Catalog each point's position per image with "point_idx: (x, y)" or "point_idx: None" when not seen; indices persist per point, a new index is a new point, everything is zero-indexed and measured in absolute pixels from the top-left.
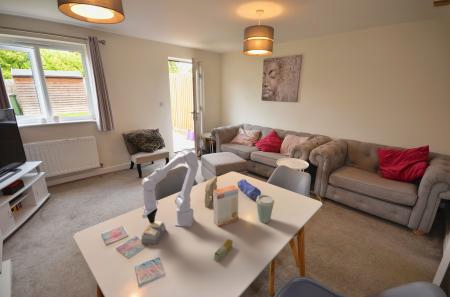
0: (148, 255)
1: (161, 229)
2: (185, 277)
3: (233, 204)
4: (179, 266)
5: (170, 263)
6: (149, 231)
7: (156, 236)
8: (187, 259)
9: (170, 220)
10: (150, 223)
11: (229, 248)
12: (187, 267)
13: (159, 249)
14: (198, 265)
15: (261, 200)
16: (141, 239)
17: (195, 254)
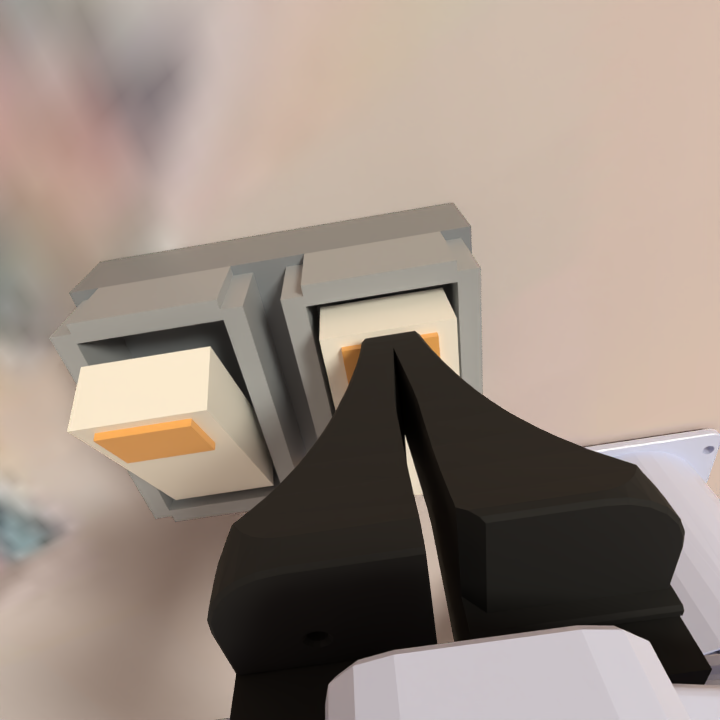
0: (8, 447)
1: None
2: (34, 695)
3: None
4: (80, 654)
5: (64, 611)
6: (143, 461)
7: (177, 505)
8: (162, 663)
9: (666, 354)
10: (353, 355)
11: None
12: (104, 681)
13: (138, 490)
14: (153, 709)
15: None
16: (74, 297)
17: (227, 678)
